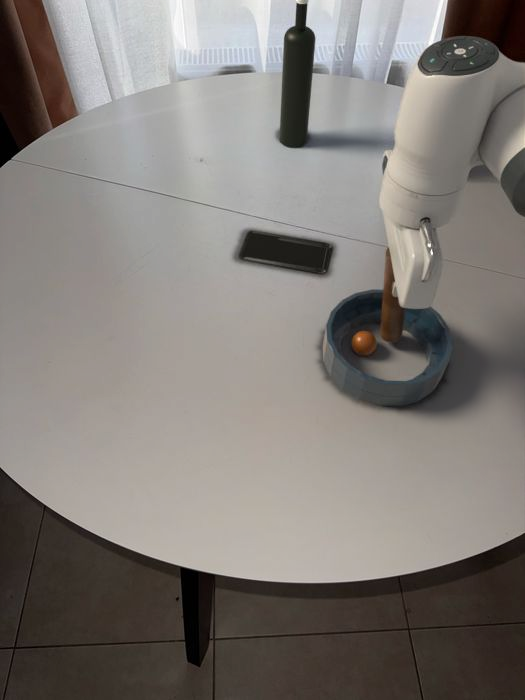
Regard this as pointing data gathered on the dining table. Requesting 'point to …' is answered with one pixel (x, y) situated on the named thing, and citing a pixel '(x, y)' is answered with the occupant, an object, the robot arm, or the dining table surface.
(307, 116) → the wine bottle
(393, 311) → the stirring stick
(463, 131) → the robot arm
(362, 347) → the bead
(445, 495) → the dining table surface
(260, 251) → the phone
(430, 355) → the blue faceted ring
